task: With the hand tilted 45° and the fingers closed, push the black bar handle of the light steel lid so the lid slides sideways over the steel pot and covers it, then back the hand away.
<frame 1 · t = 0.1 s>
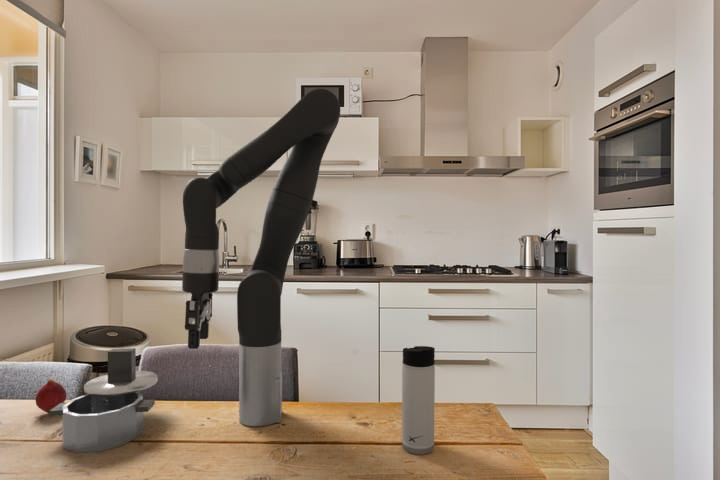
hand: (198, 343, 98), 17 cm above the table, tool pointing down, fingers open, 8 cm apart
pot: (104, 435, 91), on the table
lid: (121, 367, 100), point 11 cm above the table, slide at -9.0 cm
onion: (51, 414, 102), on the table
travel mug: (418, 448, 87), on the table
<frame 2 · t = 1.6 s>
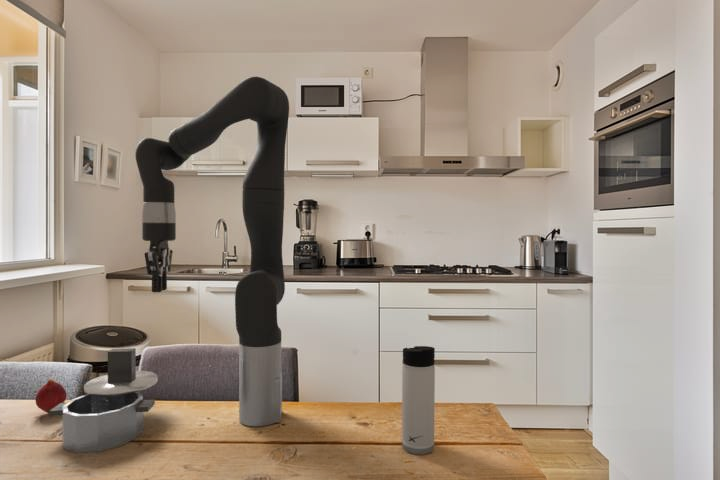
hand: (159, 290, 110), 27 cm above the table, tool pointing down, fingers open, 3 cm apart
nothing on the table moved.
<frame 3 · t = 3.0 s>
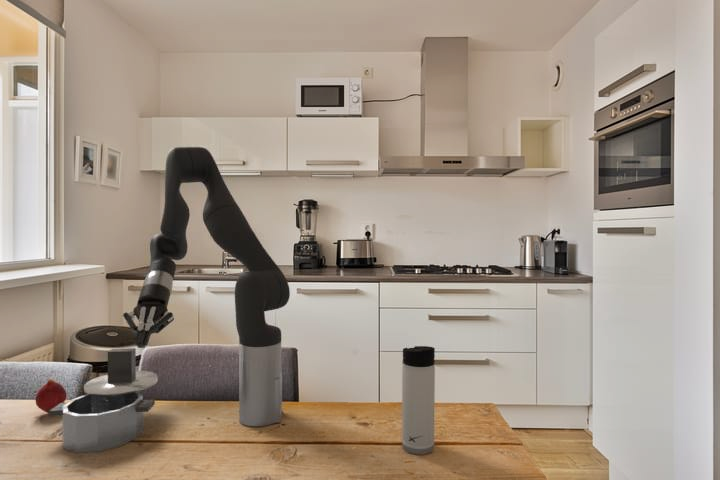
hand: (140, 346, 112), 13 cm above the table, tool tilted 45°, fingers closed
nothing on the table moved.
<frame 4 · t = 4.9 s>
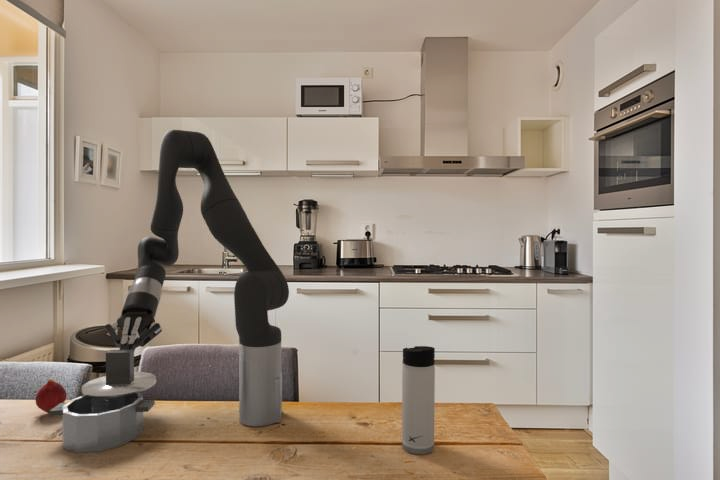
hand: (123, 361, 101), 12 cm above the table, tool tilted 45°, fingers closed
lid: (120, 368, 99), point 11 cm above the table, slide at -8.0 cm, touching gripper
everything else where it was.
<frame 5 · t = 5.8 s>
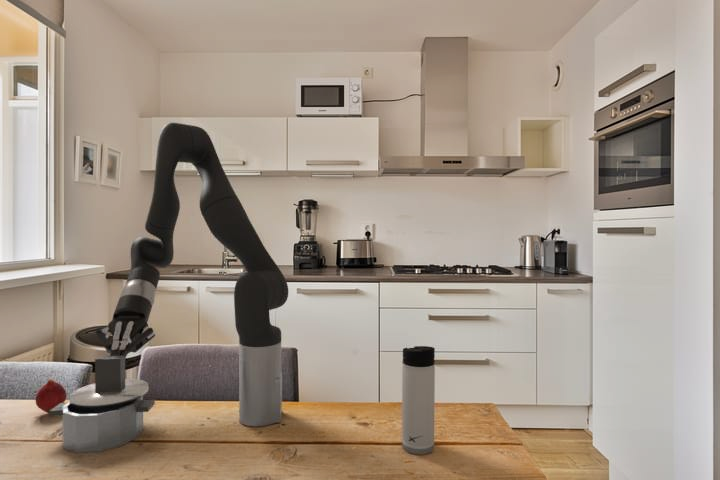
hand: (114, 368, 96), 12 cm above the table, tool tilted 45°, fingers closed
lid: (110, 375, 94), point 11 cm above the table, slide at -3.1 cm, touching gripper
everything else where it was.
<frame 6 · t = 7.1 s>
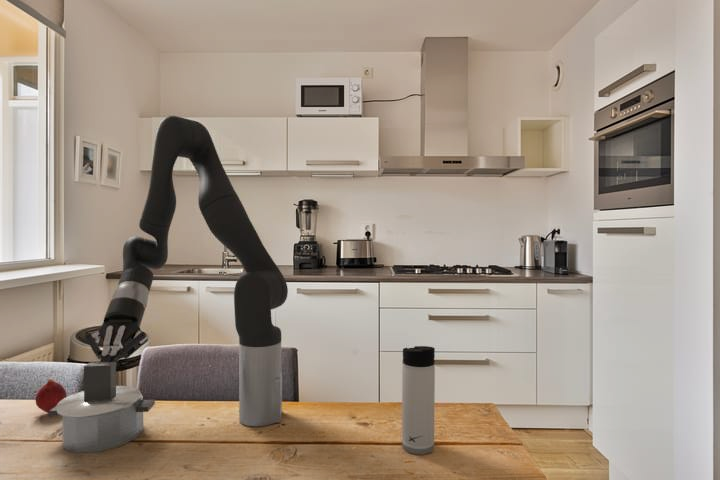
hand: (104, 375, 91), 12 cm above the table, tool tilted 45°, fingers closed
lid: (100, 383, 89), point 11 cm above the table, slide at 1.5 cm, touching gripper
everything else where it was.
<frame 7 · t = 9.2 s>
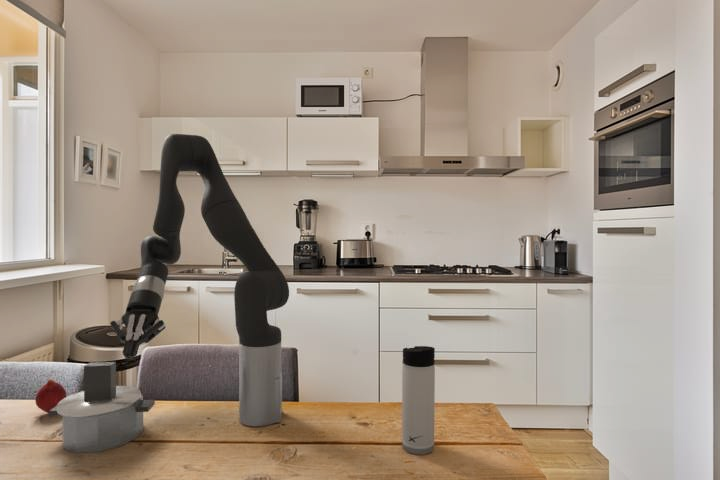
hand: (128, 357, 104), 12 cm above the table, tool tilted 45°, fingers closed
lid: (100, 383, 89), point 11 cm above the table, slide at 1.5 cm
everything else where it was.
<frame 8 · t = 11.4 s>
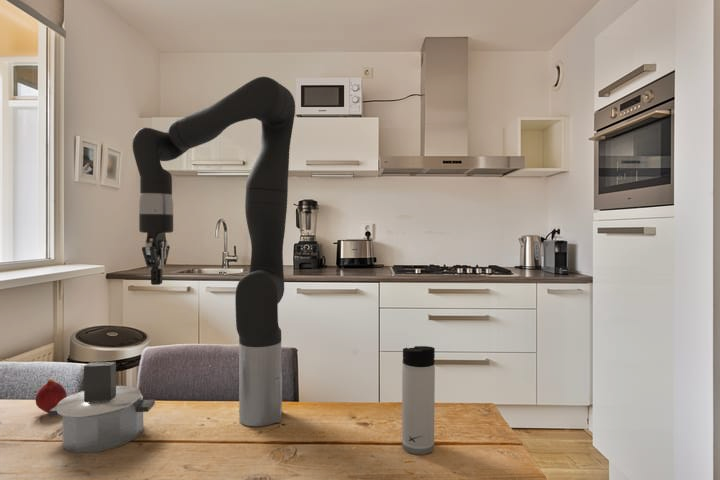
hand: (156, 284, 108), 29 cm above the table, tool pointing down, fingers closed
nothing on the table moved.
at the end: lid slide at 1.5 cm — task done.
